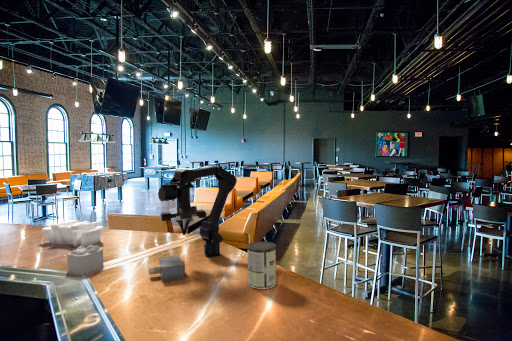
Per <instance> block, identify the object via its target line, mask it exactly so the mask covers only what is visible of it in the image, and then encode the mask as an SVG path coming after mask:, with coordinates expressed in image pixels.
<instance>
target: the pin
mask: <svg viewBox="0 0 512 341" xmlns="http://www.w3.org/2000/svg"><path fill="white" fill-rule="evenodd" d="M181 260H182V262H183V264H184V273H185V271H186V264H185V260H184V259H181ZM148 273H149V274H148V275H149V276H150V275H158V274H159V275H160V273H161V265H159V264H158V265H151V266H148Z"/></svg>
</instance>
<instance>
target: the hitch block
mask: <svg viewBox="0 0 512 341" xmlns="http://www.w3.org/2000/svg"><path fill="white" fill-rule="evenodd" d="M182 260H183V259H182V258H181V256H180V255H172V256H164V257H162V256H161V257H158V265H161V273H159V276H160V280H161V282H168V281H174V280H176V281H177V280H182V279H185V272H184V264H183V262H182Z"/></svg>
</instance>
